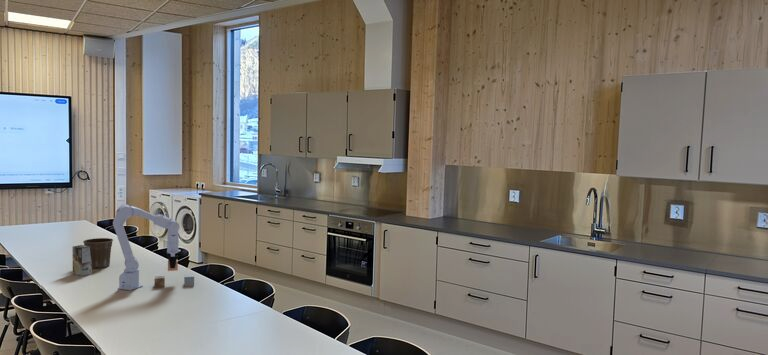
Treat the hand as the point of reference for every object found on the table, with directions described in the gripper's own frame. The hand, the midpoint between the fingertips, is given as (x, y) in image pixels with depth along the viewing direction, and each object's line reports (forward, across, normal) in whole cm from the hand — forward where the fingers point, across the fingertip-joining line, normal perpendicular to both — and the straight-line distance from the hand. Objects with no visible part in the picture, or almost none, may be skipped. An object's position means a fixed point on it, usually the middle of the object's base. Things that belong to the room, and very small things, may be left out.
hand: (172, 266), depth 302 cm
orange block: (+2, 0, 0) cm, 2 cm away
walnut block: (+10, -3, +6) cm, 12 cm away
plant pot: (+10, +52, +42) cm, 68 cm away
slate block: (+10, -4, -9) cm, 13 cm away
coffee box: (+10, +34, +48) cm, 60 cm away
